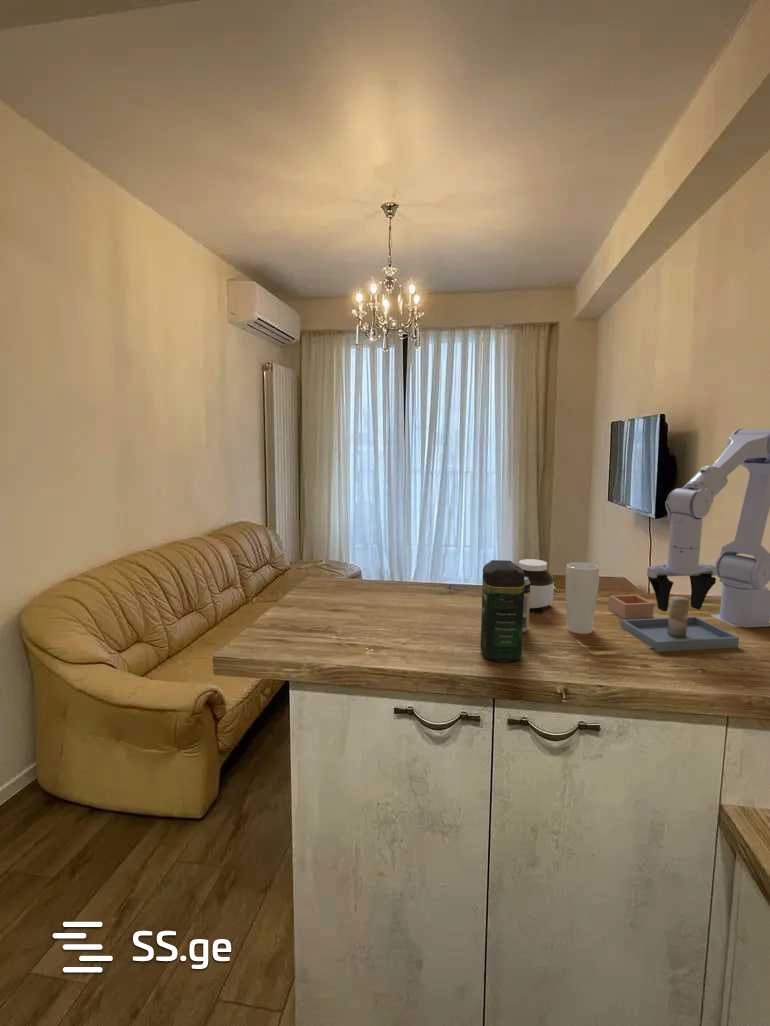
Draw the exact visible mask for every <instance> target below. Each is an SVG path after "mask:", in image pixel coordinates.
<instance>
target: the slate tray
mask: <svg viewBox="0 0 770 1026" xmlns="http://www.w3.org/2000/svg"><path fill="white" fill-rule="evenodd" d="M668 621H669V617H655V618H637V619H621V620H620V627H621V628H622V629H623V630H625V631H627V632H628V633H630V634H632V635H633V636H635V637H636V638H638V639H639V640H641V641H642V642H644V643H646V644H647V645H648V646H650V649H651V650H652V651H654V652H655V653H665V652H685V651H698V650H700V651H701V650H702V651H703V650H717V649H718V650H719V649H734V648H739V644H740V642H739V641H740V637H739V636H736V635H734V634H732V633H731V632H729V631H726V630H725V629H722V628H721V627H718V626H716V625H714V624H712V623H710V622H708V621H706V620H705V619H702V618H700V617H698V616H696V615H695V616H688V619H687V631H686V637H685V638H676V637H672V636H669V635H668Z"/></svg>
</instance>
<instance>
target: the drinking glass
mask: <svg viewBox="0 0 770 1026" xmlns="http://www.w3.org/2000/svg"><path fill="white" fill-rule="evenodd" d="M565 571H566V572H565V598H566V600H565V603H566V605H565V606H566V630H568V631H569V632H571V633H573V634H579V635H589V634H591V633H592V632H593V629H594V627H593V626H594V619H595V618H594V617H595V611H596V605H597V599H598V598H597V597H598V591H599V583H600V566H599V565H597V564H595V563H591V562H582V561H574V562H569V563H567V564H566V569H565Z"/></svg>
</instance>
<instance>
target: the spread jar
mask: <svg viewBox="0 0 770 1026" xmlns="http://www.w3.org/2000/svg"><path fill="white" fill-rule="evenodd" d="M518 566H519V567H520V568H521V569H522V570H523V572H524V576H526V577H528V579H529V581H530V607H529V613H539V612H540V613H541V612H543V611H544V610H547V609H548V608H549V607H550V606H551V605H552V603H553V601H554V595H555V594H554V593H555V581H554V578H553V576H552V574H551V572H549V571H548V562H546V561H545V560H542V559H541V560H540V559H536V558H535V559H532V558H525V559H519V561H518Z"/></svg>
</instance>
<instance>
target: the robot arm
mask: <svg viewBox="0 0 770 1026" xmlns="http://www.w3.org/2000/svg"><path fill="white" fill-rule="evenodd" d="M740 466H741V467H744V468H745V469H747V471H748V472H749V476H748V480H747V485H746V490H745V493H744V498H743V501H742V506H741V511H740V515H739V518H738V523H737V527H736V533H735V537H734V539H733V540H732V541H730V542H729V543H726V544H725V545H723V546H722V547H721V549H720V552H719V555H718V557H717V559H716V560H715V562H714V565H713V564H700V552H701V551H700V550H701V543H702V542H701V539H702V529H703V528H702V526H703V518H705V517H706V516H707V515H708V514H709V513H710V509H711V506H712V504H713V503H714V500H715V499H714V498H715V497H716V496H717V495H718V494H720V492H721V491H722V490H723V489H724V488H725V487H726V486H727V484H728V476H729V475H730V474H731V473H733V472H734V471H735V470H736V469H737V468H738V467H740ZM664 503H665V504H664V505H665V507H664V508H665V510H666V513H667V521H668V523H670V527H669V537H668V538H669V539H668V553H667V563H666V564H665V563H664V564H661V565H655V566H654V565H653V566H647V571H646V572H647V573H646V576H647V577H648V580H649V583H650V585H651V587H652V589H653V591H654V595H655V599H656V603H657V604H656V605H657V608H658V610H660V611H662V612H667V611H668V609H669V603H670V594H671V591H672V588H673V585H674V581H671V580H669V579H670V578H669V577H687V576H688V577H689V580H690V589H691V591H690V607H691V608H693V609H695V610H697V611H698V610H701V609H702V606H703V603H704V601H705V599H706V597H707V594H708V593H709V591H710V590H711V589H712V587H713V586H714V585H715V584H716V580H717V578H716V577H718V579H719V582H720V583H722V584H721V585H722V587H721V598H720V608H719V613H716V614H715V613H714V614H710V616H711V617H713V618H716V620H717V619H718V620H720V621H722V622H724V623H726V624H728V625H730V626H732V627H735V628H738V627H743V628H749V629H750V628H762V627H763V628H764V627H765V628H766V627H768V628H769V627H770V589H769V588H768V587H767V585H768V583H770V552H769V551H768V550H767V549H766V548H765V547H764V546H763V545H762V542H763V539H764V533H765V529H766V525H767V521H768V516H769V513H770V428H769V429H764V428H763V429H761V428H759V429H751V428H750V429H749V428H748V429H744V428H737V429H734V431H733V432H732V433H731V435H729V436H728V438H727V447H726V448H725V450H724V451H723V452H722V453H721V454H720V456H719V457H718V458H717V459H716V460H715V461H714V463H713V464H712V465H705V466H702V467H701V468H699V471H697V473H695V475H693V476H692V478H690V480H688V481H687V482H686V483H685V485H684V486H682V487H679V488H675V489H673V490H671V491H670V492H669V494H668V495H667V498H666V501H665V502H664ZM742 554H743V555H742ZM745 555H749V557H748V556H745ZM751 556H752V557H751Z"/></svg>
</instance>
